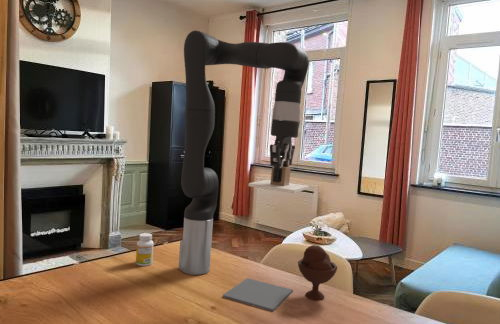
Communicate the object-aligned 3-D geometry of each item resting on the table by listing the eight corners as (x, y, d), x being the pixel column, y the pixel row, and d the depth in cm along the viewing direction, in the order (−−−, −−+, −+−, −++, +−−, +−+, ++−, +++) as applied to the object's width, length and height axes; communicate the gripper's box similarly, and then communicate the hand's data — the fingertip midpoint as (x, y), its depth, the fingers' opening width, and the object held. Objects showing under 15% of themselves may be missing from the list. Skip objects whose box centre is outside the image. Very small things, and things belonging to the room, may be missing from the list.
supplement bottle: (140, 259, 126) (142, 231, 126) (155, 261, 125) (157, 233, 125) (132, 264, 121) (134, 235, 120) (148, 267, 120) (149, 237, 119)
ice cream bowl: (335, 307, 100) (339, 253, 99) (293, 301, 102) (298, 247, 101) (334, 292, 110) (338, 242, 109) (296, 286, 112) (300, 238, 111)
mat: (222, 297, 101) (222, 294, 101) (247, 279, 115) (247, 278, 115) (273, 311, 95) (273, 309, 95) (292, 291, 108) (292, 289, 108)
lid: (248, 186, 100) (250, 164, 100) (267, 182, 112) (268, 163, 111) (294, 193, 94) (296, 170, 94) (308, 188, 106) (310, 168, 106)
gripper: (282, 120, 110) (276, 177, 111) (263, 116, 97) (256, 181, 98) (306, 122, 107) (300, 181, 108) (290, 118, 94) (283, 185, 95)
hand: (279, 181), depth 103 cm, fingers closed on lid, 4 cm apart
